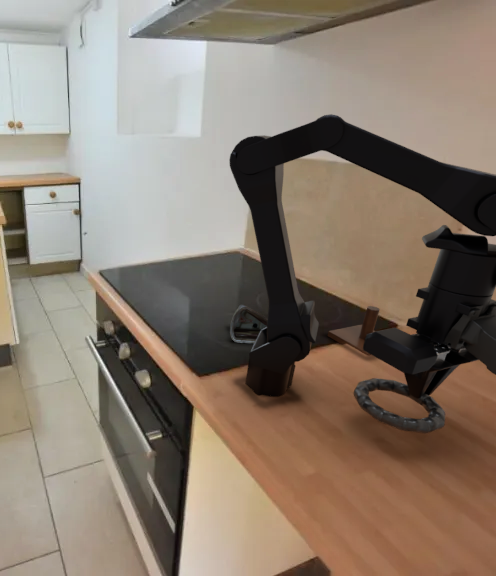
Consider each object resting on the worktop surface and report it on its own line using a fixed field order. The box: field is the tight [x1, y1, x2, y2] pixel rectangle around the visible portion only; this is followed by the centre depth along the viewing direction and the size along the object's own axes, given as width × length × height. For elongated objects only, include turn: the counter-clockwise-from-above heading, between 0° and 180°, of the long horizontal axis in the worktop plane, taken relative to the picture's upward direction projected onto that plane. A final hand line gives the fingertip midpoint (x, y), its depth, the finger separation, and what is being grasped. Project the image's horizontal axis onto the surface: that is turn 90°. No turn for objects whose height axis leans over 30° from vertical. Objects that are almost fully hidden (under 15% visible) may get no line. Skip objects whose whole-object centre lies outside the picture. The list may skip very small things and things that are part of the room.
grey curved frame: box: [229, 304, 268, 344], centre depth 78 cm, size 10×7×12 cm
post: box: [327, 305, 381, 356], centre depth 74 cm, size 9×9×8 cm
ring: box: [352, 377, 446, 434], centre depth 49 cm, size 10×10×2 cm
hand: (419, 395), depth 51 cm, fingers closed on ring, 1 cm apart
